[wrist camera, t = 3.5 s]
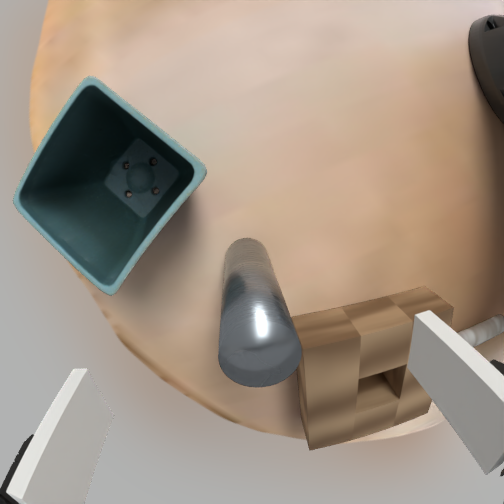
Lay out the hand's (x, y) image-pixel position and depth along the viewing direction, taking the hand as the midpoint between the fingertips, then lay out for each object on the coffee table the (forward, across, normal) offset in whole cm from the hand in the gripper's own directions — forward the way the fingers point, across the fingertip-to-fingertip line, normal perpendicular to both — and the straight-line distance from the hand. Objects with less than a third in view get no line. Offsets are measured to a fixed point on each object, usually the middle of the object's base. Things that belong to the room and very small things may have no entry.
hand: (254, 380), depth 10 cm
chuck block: (+14, +17, -13) cm, 25 cm away
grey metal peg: (+14, 0, 0) cm, 14 cm away
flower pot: (+15, -6, +8) cm, 18 cm away
